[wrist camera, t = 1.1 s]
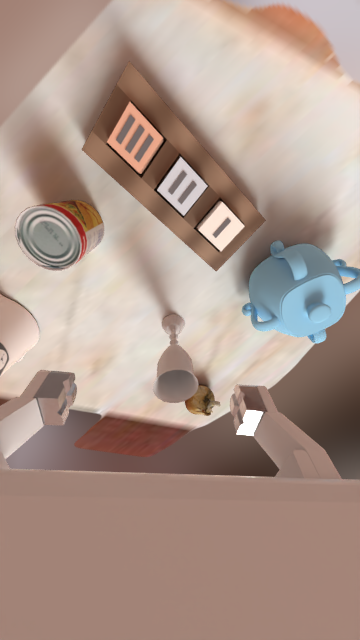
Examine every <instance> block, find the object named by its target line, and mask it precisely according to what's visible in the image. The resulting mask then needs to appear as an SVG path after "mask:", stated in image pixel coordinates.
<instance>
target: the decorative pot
mask: <svg viewBox="0 0 360 640" xmlns="http://www.w3.org/2000/svg"><path fill="white" fill-rule="evenodd" d="M270 251H271V254H272V255H271V256H270V257H268V258H267V259H265V260H264V261H263V262H261V263H260V264H259V265H258V266H257V267H256V268H255V269H254V271H253V272H252V274H251V276H250V280H249V297H250V301H251V303H247V304H245V305H244V306H243V308H242V312H243V314H244V315H245V316H249V315H251V321H252V324H253V326H254V327H255V328H256V329H257V330H259V331H269V330H273V329H275V330H277V331H279V332H281V333H284V334H287V335H291V336H295V337H304V336H308V338H309V339H310V340H311V341H312V342H313V343H320V342H322V341H324V340H325V339H326V332H325V328H327V327H329V326H331V325H333V324H334V323H336V322H337V321H338V320H339V319H340V318H341V317H342V315H343V313H344V310H345V305H346V295H345V294H349V293H352V292H355V291H357V290H358V289H360V269H358V268H354V267H346V262H345V261H344V260H341V259H337V260H333V261H332V260H331V259H330V258H329V257H328V256H327V255H326V254H325V253H324V252H323V251H322V250H321V249H319V248H318V247H316V246H314V245H311V244H305V243H303V244H296V245H293V246H290V247H288V248H285V249H284V245H283V243H282V242H281V241H275V242H273V243H272V244H271V246H270ZM341 276H346V277H352V278H355V279H354V280H352V281H350V282H348V283H346V284H343V282H342V279H341ZM257 314H258V316H259V317H260V318H261V319H262V320H263V321H264V322H258V321H257Z"/></svg>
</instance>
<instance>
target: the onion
mask: <svg viewBox="0 0 360 640" xmlns="http://www.w3.org/2000/svg"><path fill="white" fill-rule="evenodd" d="M185 405H186V408H187V409H188V410H189V411H190V412H191V413H193V414H203V415H206V416H209V415H211V412H213V411H212V408H213V407H214V406H220V402H218V401H215V399H214V395H213V392H212V391H211V390H210V389H209V388H208V387H206V386H203V385H201V386H200V385H198V389H197V391H196V393H195V394H194V395H193V396H192V397H191V398H189V399H187V400H185Z"/></svg>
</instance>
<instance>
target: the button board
mask: <svg viewBox="0 0 360 640" xmlns="http://www.w3.org/2000/svg"><path fill="white" fill-rule="evenodd" d="M129 102H131V103H132V104H133V106H134V107H135V108H136V109H137V110H138V111H139V112H140V113H141V114H142V115H143V116H144V117H145V119H146V120H147V121H148V122H149V123H150V124H151V125H152V126H153V127H154V128H155V129H156V131H157V132H158V133H159V134H160V135H161V136H162V137H163V143H162V144H161V146H160V147H159V149H158V150H157V152H156V153H155V155H154V156H153V158H152V159H151V161H150V162H149V164H148V165H147V167H146V168H145V170H144V171H143V173H142V174H140V173H139V172H138V171H136V170H135V169H134V168H133V167H132V166H131V165H130V164H129V163H128V162H127V161H126V160H125V159H124V158H123V157H122V156H121V155H120V154H119V153H118V152H117V151H116V150H115V149H114V148H113V147H112V146H111V145H109V144H108V143H107V141H108V139H109V137H110V135H111V134H112V132H113V130H114V128H115V127H116V125H117V123H118V121H119V120H120V118H121V116H122V114H123V113H124V111H125V109H126V107H127V106H128V104H129ZM82 150H83V151H84V152H85V153H86V154H87V155H88V156H89V157H90V158H91V159H93V160H94V161H95V162H96V163H97V164H98V165H99V166H100V167H101V168H103V169H104V170H105V171H106V172H107V173H108V174H109V175H110V176H111V177H112V178H114V179H115V180H116V181H117V182H118V183H119V184H120V185H121V186H122V187H123V188H125V189H126V190H127V191H128V192H129V193H130V194H131V195H132V196H133V197H135V198H136V199H137V200H138V201H139V202H140V203H141V204H142V205H143V206H144V207H146V208H147V209H148V210H149V211H150V212H151V213H152V214H153V215H154V216H155V217H157V218H158V219H159V220H160V221H161V222H162V223H163V224H164V225H165V226H167V227H168V228H169V229H170V230H171V231H172V232H173V233H174V234H175V235H176V236H178V237H179V238H180V239H181V240H182V241H183V242H184V243H185V244H186V245H187V246H189V247H190V248H191V249H192V250H193V251H194V252H195V253H196V254H197V255H199V256H200V257H201V258H202V259H203V260H204V261H205V262H206V263H207V264H208V265H210V266H211V267H212V268H213V269H214V270H215V271H217V270H218V269H219V268H220V267H221V266H222V265H223V264H224V263H225V262H226V261H227V260H228V259H229V258H230V257H231V256H232V255H233V254H234V253H235V252H236V251H237V250H238V249H239V248H240V246H241V245H242V244H243V243H244V242H245V241H246V240H247V239H248V238H249V237H250V236H251V235H252V234H253V233H254V232H255V231H256V230H257V229H258V228H259V227H260V226H261V225H262V224H263V223H264V222H265V221H266V220H265V219H264V218H263V216H262V215H261V214H260V213H259V212H258V211H257V209H256V208H255V207H254V206H253V205H252V204H251V202H250V201H249V200H248V199H247V198H246V197H245V195H244V194H243V193H242V192H241V191H240V190H239V188H238V187H237V186H236V185H235V184H234V183H233V181H232V180H231V179H230V178H229V177H228V176H227V174H226V173H225V172H224V171H223V170H222V169H221V167H220V166H219V165H218V164H217V163H216V162H215V160H214V159H213V158H212V157H211V156H210V155H209V153H208V152H207V151H206V150H205V149H204V148H203V146H202V145H201V144H200V143H199V142H198V141H197V139H196V138H195V137H194V136H193V135H192V134H191V133H190V131H189V130H188V129H187V128H186V127H185V126H184V124H183V123H182V122H181V121H180V120H179V119H178V117H177V116H176V115H175V114H174V113H173V112H172V110H171V109H170V108H169V107H168V106H167V105H166V103H165V102H164V101H163V100H162V99H161V98H160V96H159V95H158V94H157V93H156V92H155V91H154V89H153V88H152V87H151V86H150V85H149V84H148V82H147V81H146V80H145V79H144V78H143V77H142V75H141V74H140V73H139V72H138V71H137V70H136V68H135V67H134V66H133V65H132V64H131V63H130V61H129V62H128V64H127V66H126V68H125V69H124V71H123V73H122V75H121V77H120V79H119V81H118V82H117V84H116V86H115V88H114V90H113V92H112V94H111V96H110V97H109V99H108V101H107V103H106V105H105V107H104V109H103V111H102V112H101V114H100V116H99V118H98V120H97V122H96V124H95V126H94V127H93V129H92V131H91V133H90V135H89V137H88V139H87V141H86V142H85V144H84V146H83V148H82ZM180 157H181V158H182V159H183V160H184V161H185V162H186V163H187V164H188V165H189V166H190V167H191V168H192V169H193V171H194V172H195V173H196V174H197V175H198V176H199V177H200V178H201V179H202V180H203V181H204V183H205V184H206V185H207V188H206V189H205V190H204V191H203V193H202V194H201V195H200V196H199V198H198V199H197V200H196V201H195V203H194V204H193V205H192V206H191V208H190V209H189V210H188V211H187V213H186V214H185V215H184V216H183V215H182V214H181V213H180V212H179V211H178V210H177V209H176V208H175V207H174V206H173V205H172V204H171V203H170V202H169V201H168V200H167V199H166V198H165V197H164V196H163V195H162V194H161V193H159V192H158V191H157V189H158V188H159V186H160V185H161V184H162V182H163V181H164V179H165V178H166V177H167V175H168V174H169V172H170V171H171V170H172V168H173V167H174V165H175V164H176V163H177V161H178V160H179V158H180ZM218 201H221V202H223V203H224V204H225V205H226V206H227V207H228V208H229V210H230V211H231V212H232V213H233V214H234V215H235V216H236V217H237V218H238V219H239V220H240V222H241V223H242V224H243V225H244V226H245V227H244V228H243V229H242V230H241V231H240V232H239V233H238V234H237V235H236V236H235V237H234V238H233V239H232V240H231V242H230V243H229V244H228V245H227V246H226V247H225V248H224V249H223V250H222V251H220V250H219V249H218V248H217V247H216V246H215V245H214V244H213V243H211V242H210V241H209V240H208V239H207V238H206V237H205V236H204V235H203V234H202V233H201V232H200V231H199V230H198V229H197V226H198V225H199V223H200V222H201V221H202V220H203V219H204V217H205V216H206V215H207V214H208V213H209V212H210V210H211V209H212V208H213V207H214V206H215V204H216V203H217V202H218Z"/></svg>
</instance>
